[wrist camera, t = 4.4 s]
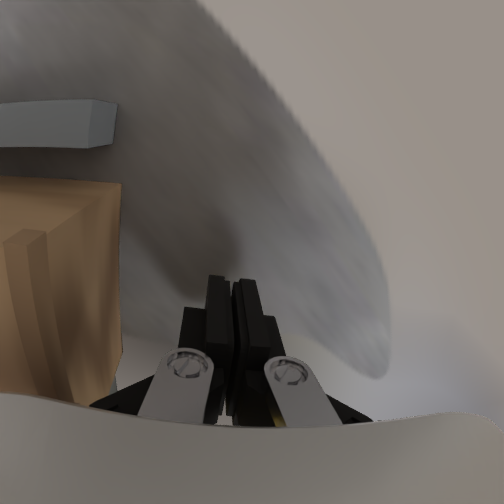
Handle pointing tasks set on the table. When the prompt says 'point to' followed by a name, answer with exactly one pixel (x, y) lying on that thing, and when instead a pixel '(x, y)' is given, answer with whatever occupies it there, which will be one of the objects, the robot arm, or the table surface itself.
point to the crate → (59, 287)
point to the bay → (58, 127)
